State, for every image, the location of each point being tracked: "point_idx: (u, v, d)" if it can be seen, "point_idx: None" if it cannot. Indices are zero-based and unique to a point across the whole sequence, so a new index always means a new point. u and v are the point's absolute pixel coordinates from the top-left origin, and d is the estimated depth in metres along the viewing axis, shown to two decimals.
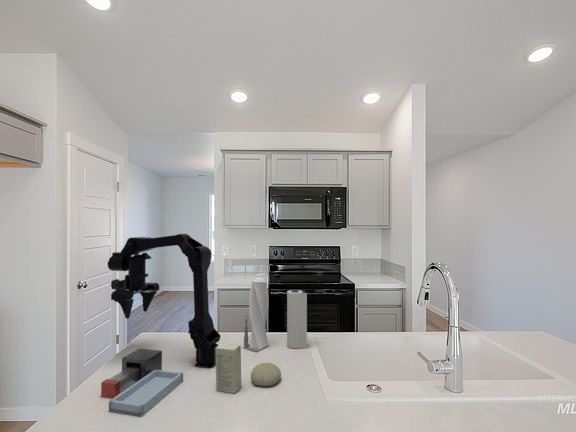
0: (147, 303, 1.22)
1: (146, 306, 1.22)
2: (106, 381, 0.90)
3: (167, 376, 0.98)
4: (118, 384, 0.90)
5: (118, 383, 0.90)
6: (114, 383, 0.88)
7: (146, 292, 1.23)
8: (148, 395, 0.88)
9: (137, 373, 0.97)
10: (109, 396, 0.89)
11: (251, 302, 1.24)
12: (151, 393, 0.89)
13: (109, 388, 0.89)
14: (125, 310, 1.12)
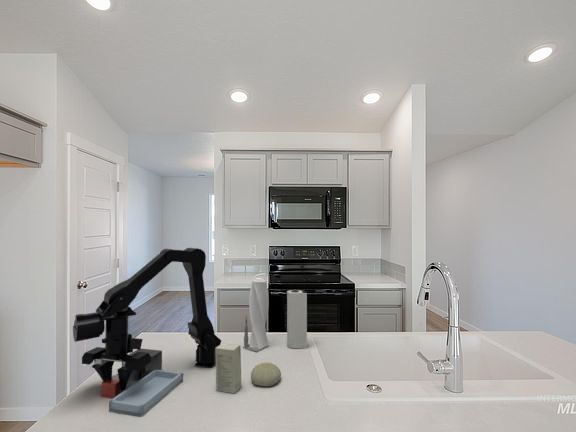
0: None
1: None
2: (106, 381, 0.90)
3: (167, 376, 0.98)
4: (118, 384, 0.90)
5: (118, 383, 0.90)
6: (114, 383, 0.88)
7: None
8: (148, 395, 0.88)
9: (137, 372, 0.97)
10: (109, 396, 0.89)
11: (251, 302, 1.24)
12: (151, 393, 0.89)
13: (109, 388, 0.89)
14: None
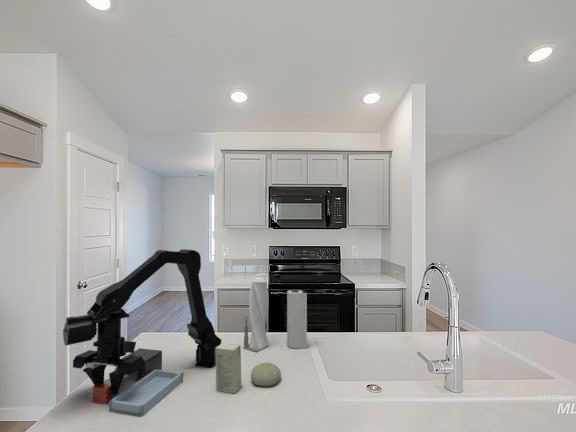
0: None
1: None
2: (98, 385, 0.87)
3: (167, 376, 0.98)
4: (110, 388, 0.87)
5: (110, 387, 0.87)
6: (106, 388, 0.86)
7: None
8: (148, 395, 0.88)
9: (130, 376, 0.95)
10: (100, 401, 0.86)
11: (251, 302, 1.24)
12: (151, 393, 0.89)
13: (100, 392, 0.86)
14: None
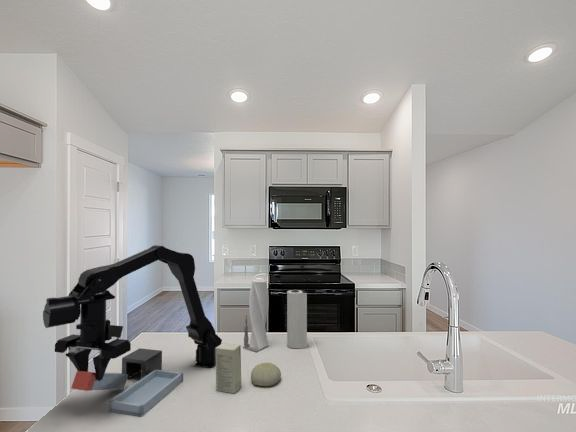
0: None
1: None
2: (82, 371, 0.82)
3: (167, 376, 0.98)
4: (94, 375, 0.82)
5: (95, 374, 0.82)
6: (91, 372, 0.81)
7: None
8: (148, 395, 0.88)
9: (114, 377, 0.89)
10: (80, 387, 0.80)
11: (251, 302, 1.24)
12: (151, 393, 0.89)
13: (84, 377, 0.81)
14: None
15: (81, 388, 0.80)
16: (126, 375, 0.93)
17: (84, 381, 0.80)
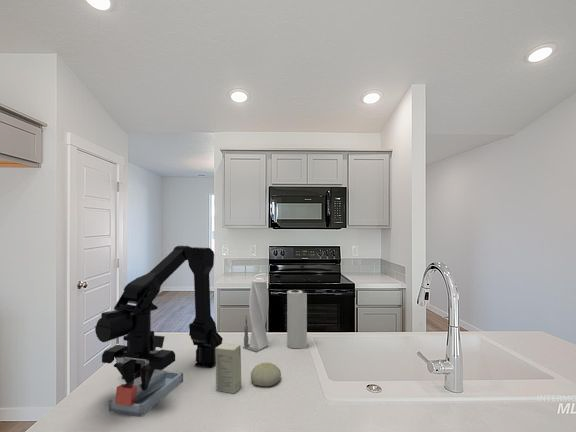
0: None
1: None
2: (122, 386, 0.82)
3: (167, 376, 0.98)
4: (135, 389, 0.82)
5: (135, 388, 0.82)
6: (131, 388, 0.81)
7: None
8: (148, 395, 0.88)
9: (153, 380, 0.89)
10: (124, 403, 0.80)
11: (251, 302, 1.24)
12: (151, 393, 0.89)
13: (125, 393, 0.81)
14: None
15: (125, 403, 0.80)
16: (164, 372, 0.94)
17: (126, 397, 0.80)
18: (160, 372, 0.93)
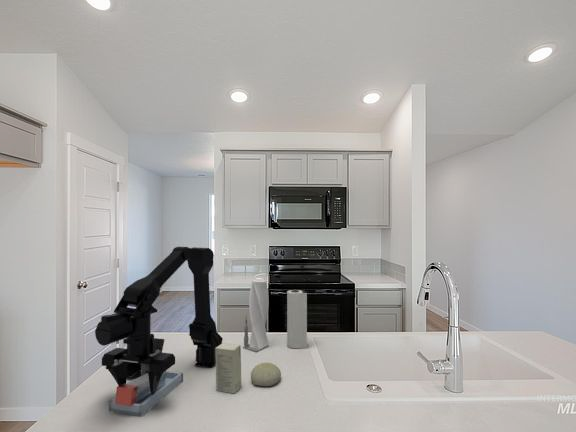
0: None
1: None
2: (122, 386, 0.82)
3: (167, 376, 0.98)
4: (135, 389, 0.82)
5: (135, 388, 0.82)
6: (131, 388, 0.81)
7: None
8: (148, 395, 0.88)
9: None
10: (124, 403, 0.80)
11: (251, 302, 1.24)
12: None
13: (125, 393, 0.81)
14: None
15: (125, 403, 0.80)
16: (164, 372, 0.94)
17: (126, 397, 0.80)
18: None
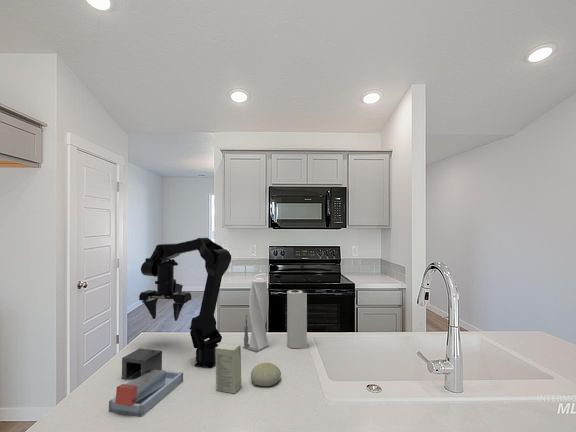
0: None
1: None
2: (122, 386, 0.82)
3: (167, 376, 0.98)
4: (135, 389, 0.82)
5: (135, 388, 0.82)
6: (131, 388, 0.81)
7: None
8: (148, 395, 0.88)
9: (153, 380, 0.89)
10: (124, 403, 0.80)
11: (251, 302, 1.24)
12: (151, 393, 0.89)
13: (125, 393, 0.81)
14: None
15: (125, 403, 0.80)
16: (164, 372, 0.94)
17: (126, 397, 0.80)
18: (160, 372, 0.93)
